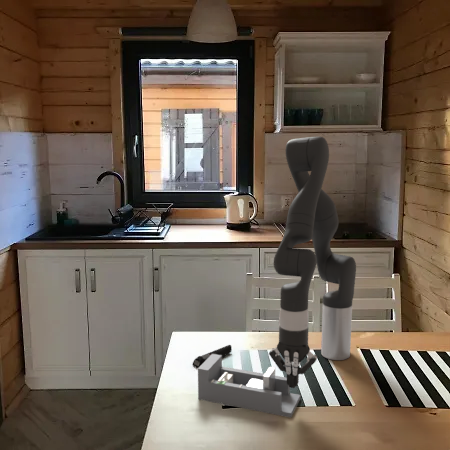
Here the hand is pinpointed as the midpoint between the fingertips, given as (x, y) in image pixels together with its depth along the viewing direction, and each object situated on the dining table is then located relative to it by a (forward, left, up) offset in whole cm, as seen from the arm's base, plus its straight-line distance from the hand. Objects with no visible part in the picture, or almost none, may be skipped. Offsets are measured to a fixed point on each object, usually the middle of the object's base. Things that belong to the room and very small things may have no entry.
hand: (292, 386), depth 141 cm
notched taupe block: (0, -9, -5) cm, 10 cm away
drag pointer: (+1, -19, -5) cm, 19 cm away
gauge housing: (0, -12, -6) cm, 13 cm away
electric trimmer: (-19, -31, -6) cm, 37 cm away
